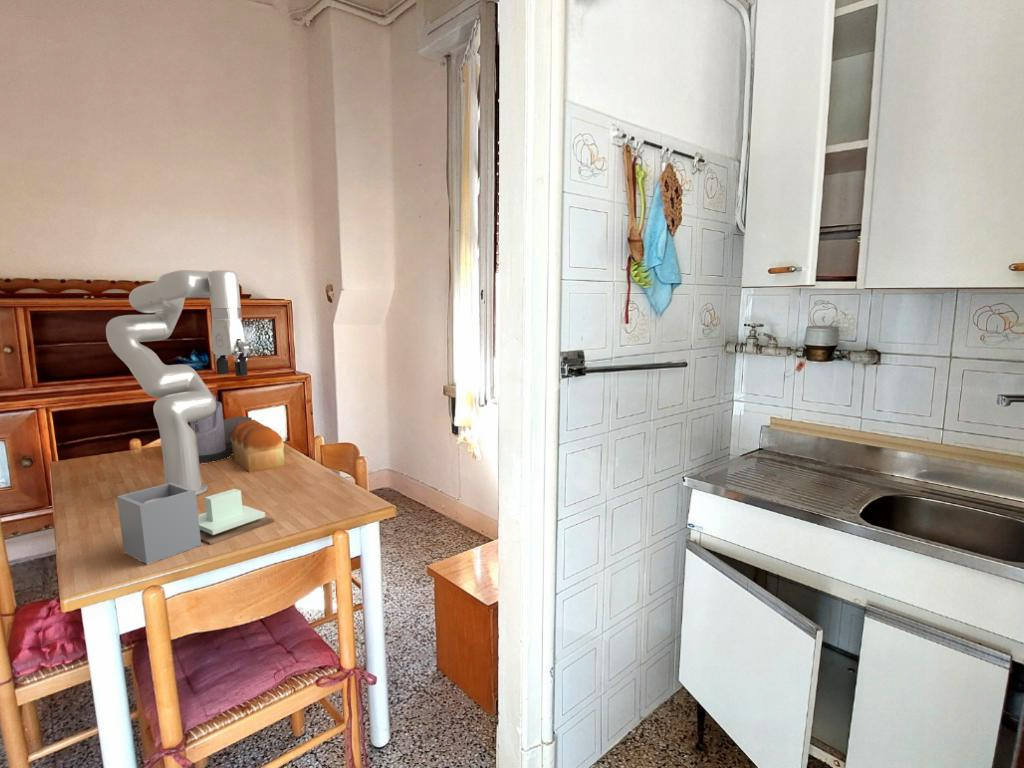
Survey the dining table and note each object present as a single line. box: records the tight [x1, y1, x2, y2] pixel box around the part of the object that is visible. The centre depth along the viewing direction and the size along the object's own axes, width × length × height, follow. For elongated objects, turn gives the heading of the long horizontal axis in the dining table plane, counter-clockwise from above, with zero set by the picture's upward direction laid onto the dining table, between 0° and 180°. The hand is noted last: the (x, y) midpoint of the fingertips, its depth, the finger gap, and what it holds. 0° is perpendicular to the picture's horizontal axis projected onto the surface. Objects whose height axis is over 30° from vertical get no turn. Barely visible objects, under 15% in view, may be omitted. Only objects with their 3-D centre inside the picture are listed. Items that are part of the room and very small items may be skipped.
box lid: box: [198, 488, 266, 535], centre depth 146 cm, size 14×14×8 cm
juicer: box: [189, 394, 253, 464], centre depth 218 cm, size 30×16×24 cm, turn 156°
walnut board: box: [200, 516, 275, 545], centre depth 146 cm, size 17×17×1 cm
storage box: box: [116, 482, 202, 565], centre depth 132 cm, size 12×12×14 cm
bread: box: [230, 419, 286, 473], centre depth 206 cm, size 25×12×15 cm, turn 40°
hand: (232, 374), depth 158 cm, fingers open, 9 cm apart
